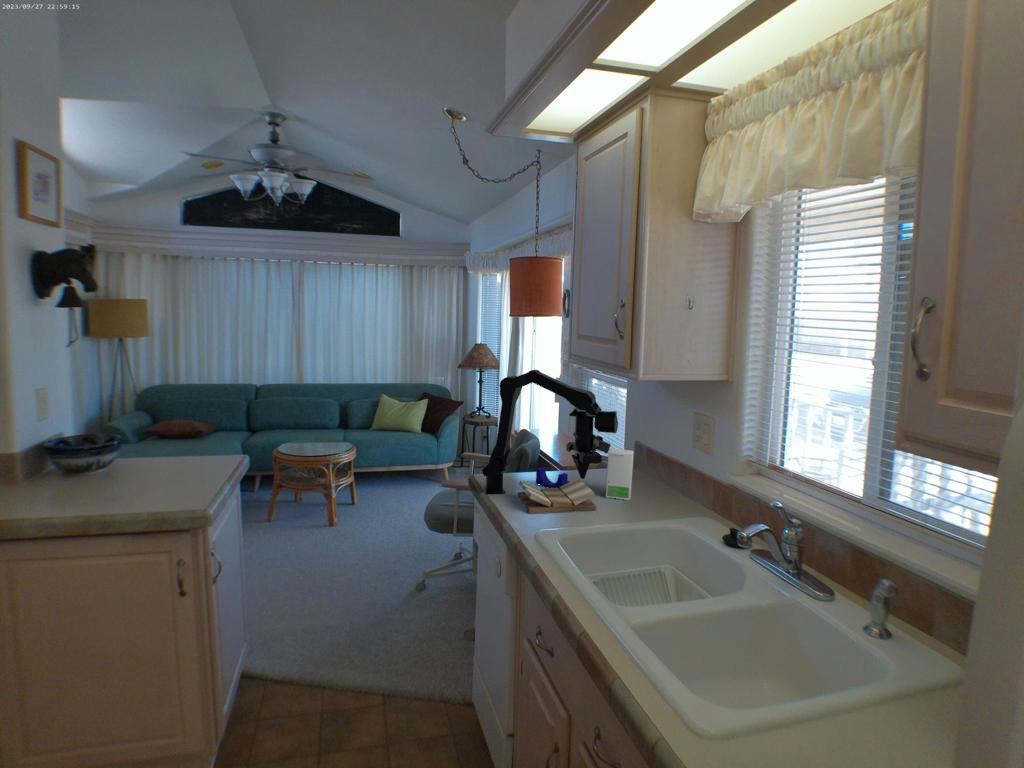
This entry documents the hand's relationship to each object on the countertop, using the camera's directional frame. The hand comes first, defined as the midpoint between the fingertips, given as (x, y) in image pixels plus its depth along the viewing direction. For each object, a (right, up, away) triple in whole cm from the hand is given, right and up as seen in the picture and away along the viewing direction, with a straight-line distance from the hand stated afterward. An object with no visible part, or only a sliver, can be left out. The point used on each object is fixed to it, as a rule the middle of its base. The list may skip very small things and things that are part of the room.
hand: (582, 478), depth 194 cm
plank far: (-2, -5, 0) cm, 5 cm away
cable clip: (-8, -6, +18) cm, 21 cm away
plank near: (-16, -5, -3) cm, 17 cm away
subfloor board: (-9, -8, -1) cm, 12 cm away
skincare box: (+13, -7, +8) cm, 17 cm away
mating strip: (-9, -6, -1) cm, 11 cm away
